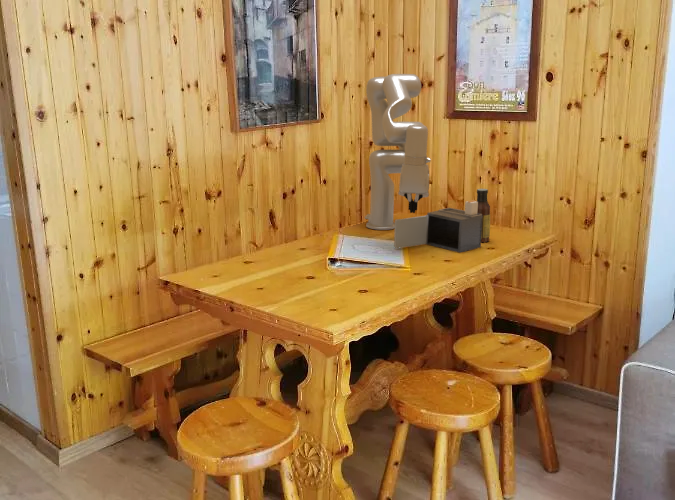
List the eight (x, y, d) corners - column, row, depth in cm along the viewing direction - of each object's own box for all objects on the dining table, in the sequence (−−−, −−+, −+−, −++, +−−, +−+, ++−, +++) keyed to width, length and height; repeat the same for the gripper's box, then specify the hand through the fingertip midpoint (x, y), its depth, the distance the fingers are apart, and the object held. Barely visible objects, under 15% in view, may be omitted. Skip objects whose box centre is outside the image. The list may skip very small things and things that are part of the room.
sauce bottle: (488, 239, 275) (491, 188, 269) (490, 243, 269) (493, 191, 263) (471, 238, 275) (474, 187, 270) (472, 242, 269) (475, 190, 264)
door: (424, 242, 266) (425, 214, 264) (427, 243, 265) (429, 215, 262) (392, 247, 259) (393, 218, 256) (395, 249, 257) (396, 219, 254)
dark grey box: (426, 244, 266) (427, 211, 263) (446, 239, 274) (448, 207, 271) (460, 252, 254) (462, 218, 251) (480, 247, 262) (482, 214, 259)
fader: (464, 214, 259) (465, 200, 258) (470, 212, 262) (471, 199, 260) (471, 215, 257) (472, 201, 256) (477, 214, 259) (478, 200, 258)
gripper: (437, 160, 250) (434, 211, 255) (395, 157, 253) (393, 208, 258) (435, 164, 243) (432, 216, 248) (392, 161, 246) (390, 213, 251)
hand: (412, 212), depth 253 cm, fingers closed
